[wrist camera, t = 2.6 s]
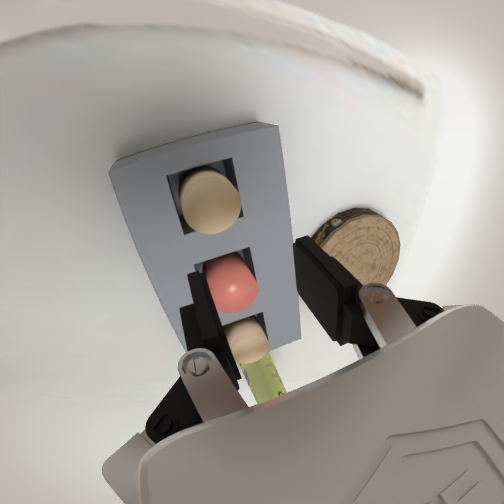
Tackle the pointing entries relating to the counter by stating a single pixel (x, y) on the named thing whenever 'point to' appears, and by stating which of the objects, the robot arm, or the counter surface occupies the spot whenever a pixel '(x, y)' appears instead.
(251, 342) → the knob
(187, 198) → the knob
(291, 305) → the knob panel
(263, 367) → the tube
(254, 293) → the knob red
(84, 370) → the counter surface
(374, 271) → the wood log slice
